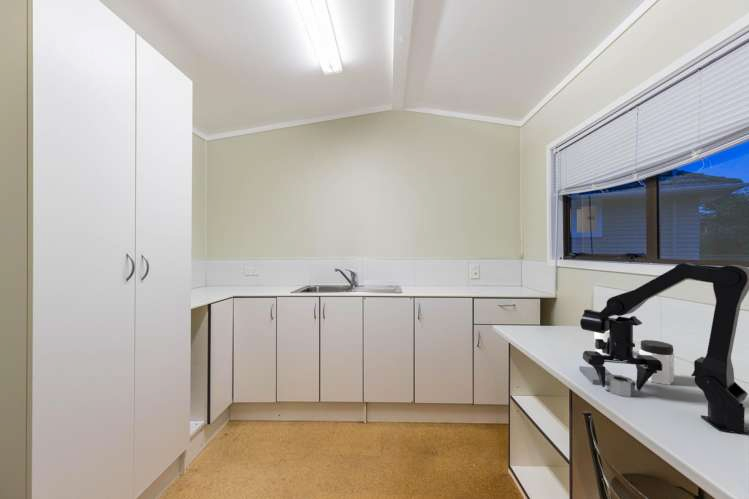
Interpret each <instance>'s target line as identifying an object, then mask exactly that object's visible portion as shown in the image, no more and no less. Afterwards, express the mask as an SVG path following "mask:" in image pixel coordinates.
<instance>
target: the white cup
mask: <svg viewBox="0 0 749 499" xmlns="http://www.w3.org/2000/svg"><path fill="white" fill-rule="evenodd" d="M608 337H609V330H608V331H606V332H605V333H604V334H603V333H598V332H593V339H594V340H593V341H594V342H595V339H603V340H604V342H607V339H608ZM594 351H597V352H599V353H600V354H601V355H605V356H609V354H606V353H602V349H596V348H595V347H594Z"/></svg>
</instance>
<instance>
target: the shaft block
mask: <svg viewBox="0 0 749 499" xmlns="http://www.w3.org/2000/svg"><path fill="white" fill-rule="evenodd" d="M578 368H579V372H580V373H581V374H582V375H583V376H584V377H585V378H586V379H587V381H589V382H590V383H591V385H597V386H602V385H601V382H600V380H599V377H598V374H597V372H596V370H595V368H594V367H593V366H583V365H582V366H581V365H580V366H579V367H578ZM611 374H612V373H611V372H610V371H609V370H608V369H606V368H605V386H606V387H607V376H608V375H611ZM612 375H614V373H613V374H612Z"/></svg>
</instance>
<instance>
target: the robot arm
mask: <svg viewBox="0 0 749 499" xmlns="http://www.w3.org/2000/svg"><path fill="white" fill-rule="evenodd" d="M686 280H687V281H688V280H694V281H700V282H704V283H711V284H712V287H713V293H714V294H713V295H714V298H715V305H714V312H713V317H712V323H711V328H710V334H709V340H708V346H707V349H706V350H707V351H706V355H705V357H704V356H700V357H699V358H696V359H695V360H694V362H693V368H694V370H693V373H691V374H690V375H691V377H694V379H693V380H694V383H695V385H696V386H697V387H698V388H699V389H700V390H701V391H702V392H703V394H704V396H705V399H706V401H707V415H703V414H702V415H700V418H701V419H702V420H704V421H705V422H706V423H708V424H710V425H711V426H712V427H714V428H715V429H716V430H718V431H719V432H720V431H721V432H728V433H729V432H730V433H735V434H736V433H737V434H745V435H746V434H747V435H749V429H748V428H746V426H745V406H744V404H743V403H742V402H743V401H745V399H746V398H747V396H748V392H747V391H746V390H745V389H744V388H743V387H741V386H740V385H739V384H738V383H737V382H736V381H735V372H734V367H733V362H732V353H733V348H734V342H735V338H736V333H737V332H736V330H737V327H738V326H737V325H738V322H739V321H738V320H739V315H740V310H741V306H742V303H743V301H744V299H745V298H746V296H747V294H748V293H749V268H748V267H747V266H744V265H740V264H730V265H724V266H713V265H703V264H694V263H691V262H686V263H685V262H684V263H679V264H677V265H675V266H674V267H673V268H672V269H670V270H668V271H666V272H665V273H662V274H660V275H659V276H656V277H655V278H653V279H652V280H649V281H648V282H646V283H644V284H642V285H640V286H639V287H636V288H635V289H632V290H630V291H625V292H624V293H620V294H617V295H614V296H612V297H609V298H608V299H607V300H606V305H605V307H604V308H602V310H601V311H597V310H592V309H589V308H585V309H584V310H583V314H582V316H581V319H580V320H579V321H580V328H581V329H582V330H583V331H588V332H593V333H594V332H598V333H603V334H604V333H605V332H606V331H608V330H609V337H608V339H607V342H604V340H603V339H595V341H594V349H595V348H596V349H602V353H606V354H609V356H607V355H602V354H600V353H599V352H597V351H595V350H584V352H582V359H583V360H584V362H586V363H587V364H588V365H591V367H594V368H595V370H596V372H597V374H598V377H599V380H600V382H601V385H600V386H601V387H602V388H606V387H605V386H606V385H605V369H606V367H605V366H604V365H605V363H613V364H614V363H615V364H627V365H635V367H636V381H635V382H636V383H635V386H636V390H637V391H638V392H640V391H641V390H642V389H643V387H644V386H645V384H646V382H648V379H649V378H650V377H651V376H652V375H653V374H654V373H657V371H662V370H663V365H662V362H661V361H660V360H658V359H656V358H654V357H653V356H651V355H639V354H637V355H636V357H634V348H635V347H636V342H635V343H634V326H635V327H636V326H640V325H642V324H643V322H642V321H641V320H640V319H638V318H637V316H636V315H632V316H631V317H627V316H625V315H630V314H633V313H634V312H636V310H638V309H639V308H640V307H642V306H643V305H644V304H645V303H646V302H647V301H648V300H650V299H652V298H654V297H655V296H658V295H659V294H661V293H663V292H665V291H667V290H669V289H672V288H673V287H675V286H677V285H679V284H681V283H683V282H685V281H686ZM614 316H617V317H614Z"/></svg>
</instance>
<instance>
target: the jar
mask: <svg viewBox="0 0 749 499" xmlns="http://www.w3.org/2000/svg"><path fill="white" fill-rule="evenodd" d="M638 351H639V354H638V355H651V356H653V357H654V358H656V359H658V360H660V361H661V362H662V365H663V370H662V371H657V373H654V374H653V375H652V376H651V377H650V378H649V379H648V380H647V382H650V383H655V384H662V385H668V386H669V385H671V384H673V383H674V382H675V353H674V345H672V344H671V343H667V342H664V341H658V340H652V339H649V340H648V339H645V340H641V341H640V348H639V350H638Z"/></svg>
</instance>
